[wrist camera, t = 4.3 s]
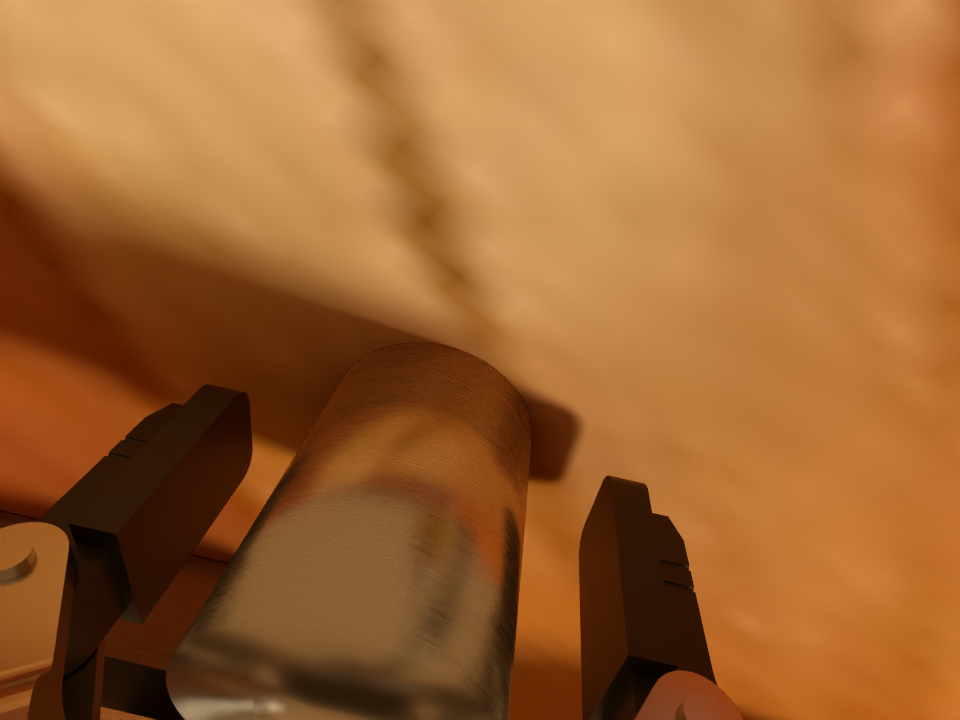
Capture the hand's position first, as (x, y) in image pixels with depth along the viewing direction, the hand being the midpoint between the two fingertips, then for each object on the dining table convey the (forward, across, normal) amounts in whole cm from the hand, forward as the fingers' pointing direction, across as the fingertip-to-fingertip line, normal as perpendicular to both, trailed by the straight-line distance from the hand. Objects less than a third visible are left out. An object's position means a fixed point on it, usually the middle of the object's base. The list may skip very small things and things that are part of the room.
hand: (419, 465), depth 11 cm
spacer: (+1, 0, 0) cm, 1 cm away
